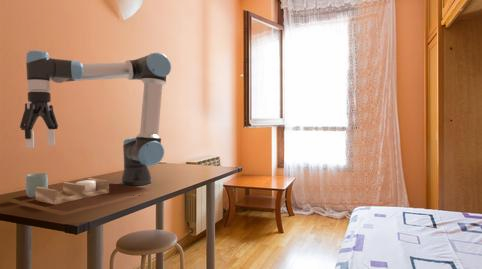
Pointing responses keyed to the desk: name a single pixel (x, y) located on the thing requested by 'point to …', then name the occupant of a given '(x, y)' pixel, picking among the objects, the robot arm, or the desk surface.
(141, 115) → the robot arm
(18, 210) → the desk surface
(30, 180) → the cup
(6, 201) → the desk surface
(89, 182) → the white rounded piece
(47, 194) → the rack
